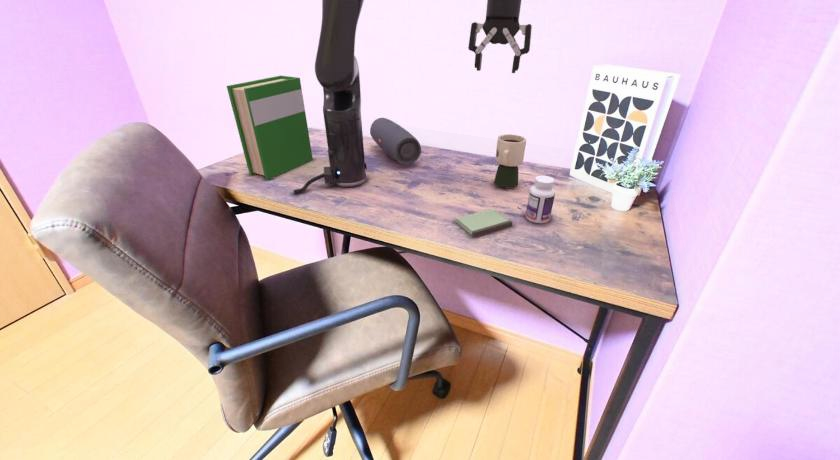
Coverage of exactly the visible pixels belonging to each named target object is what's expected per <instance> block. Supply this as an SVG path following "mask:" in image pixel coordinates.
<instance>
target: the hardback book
mask: <svg viewBox="0 0 840 460" xmlns="http://www.w3.org/2000/svg"><path fill="white" fill-rule="evenodd" d="M226 89H227V90H226V91H227V94H228V97H229V101H230V104H231V109H232V112H233V117H234V121H235V125H236V127H237V132H238V135H239V139H240V143H241V148H242V151H243V154H244V159H245V163H246V166H247V170H248V174H249V176H254V175H256V174H257V175H260V176H264V179H265V180H266V181H269V180H271V179H273V178H276V177H278V176H280V175H282V174H285V173H286V172H289V171H291V170H293V169H296V168H298V167H300V166H303V165H305V164H307V163H309V162H311V161H313V160H314V159H313V158H314V157H313V152H312V145H311V139H310V133H309V132H310V131H309V127H308V121H307V114H306V109H305V108H306V107H305V101H304V96H303V89H302V84H301V77H297V76H296V77H295V76H290V75H289V76H287V75H276V76H271V77H266V78H260V79H255V80H251V81H244V82H240V83H235V84H229V85H226Z"/></svg>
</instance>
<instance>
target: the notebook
mask: <svg viewBox="0 0 840 460" xmlns="http://www.w3.org/2000/svg"><path fill="white" fill-rule="evenodd" d="M455 222H456V224H458V225H459V226H460V227H461V228H462V229H463V230H464V231H465V232H467V234H469V235H470V236H471V237H472V238H476V237H477V238H478V237H481V236H484V235H487V234H491V233H494V232H498V231H501V230H505V229H508V228H511V227H512V226H513V221H512V220H510V219H509V218H508V217H506V216H504V215H503V214H502V213H501V212H499V211H497V210H496V209H495V208H489V209H486V210H482V211H478V212H474V213H470V214H466V215H462V216H458V217H456V221H455Z"/></svg>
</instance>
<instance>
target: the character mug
mask: <svg viewBox="0 0 840 460" xmlns="http://www.w3.org/2000/svg"><path fill="white" fill-rule="evenodd" d="M526 145H527V138H526V137H525V136H522V135H519V134H512V133H506V134H501V135H498V136H497V140H496V151H495V157H494V158H495V162H496V163H498V165H497V168H496V172H495V176H494V181H493V183H494V185H495V186H496V187H499V188H504V189H505V188H506V189H515V188H517V187H518V185H519V166H521V165H522V164H523V163H524V157H525V150H526Z"/></svg>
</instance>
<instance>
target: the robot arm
mask: <svg viewBox="0 0 840 460" xmlns="http://www.w3.org/2000/svg"><path fill="white" fill-rule="evenodd" d="M321 1H322V2H321V8H322V9H321V10H322V11H321V26H320V33H319V39H318V45H317V50H316V55H315V61H314V73H315V77H316V80H317V82H318V83H319V85H320V86H321V87H322V90H323V104H322V115H323V121H324V127H325V128H324V129H325V136H326V143H327V154H328V161H329V166H324V167H323V173H321V174H319V175H317V176H314V177H312V178H311V179H309V180H308V181H306V182H305V183H304V185H303V186H302V187H301V188H298V189H293V193H294V195H295V194H301V193H304V192H305V191H306V190H307V189H308V188H309V186H310V185H312V184H313V183H314V182H316V181H319V180H321V179H323V178H324V184H331V185H332V186H333V187H341V188H352V187H357V186H360V185H363V184H364V183H366V181H367V168H368V167H367V163H366V161H365V160H366V158H365V147H364V136H363V135H364V134H363V123H362V107H361V106H362V95H361V80H360V79H361V78H360V77H361V76H360V66H359V62H358V58H357V56H356V55H355V51H356V50H355V49H356V48H355V47H356V36H357V35H356V33H357V27H358V22H359V19H360V15H361V12H362V8H363V5H364V2H365V0H321ZM486 4H487V5H486V13H485V20H484V22H483V23H480V22H477V21H475V22H471V25H470V33H469V38H468V39H469V40H468V47H467V48H468V50H469V51H470V52H473V53H474V54H475V56H474V69H476V71H477V72H481V70H482V62H483V51H484V50H485V48H486V47H487V46H488V45H489V44H492V45H498V44H500V45H508V44H509V46H510V48H511V49H512V51H513V53H514V56H513V59H512V60H513V61H512V68H511V74H515V73H516V72H518V70H519V69H520V62H521V57H522V56H523V55H525V54H528V53H529V52H530V50H531V39H532V30H533V29H532V28H533V25H532V24H531V23H527V24H520V13H521V6H522V0H486ZM481 30H483V32H484V34H485V37H484V39H483V40H482V41H481V42H480V44H479V45H478V46H477V45H476V43H477V36H478V34H479V33H481ZM519 31H521V34H522V35H523V36H524V41H523V48H520V46H519V44H518V42H517V39H516V37H515V36H516V35H517V33H519Z"/></svg>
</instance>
